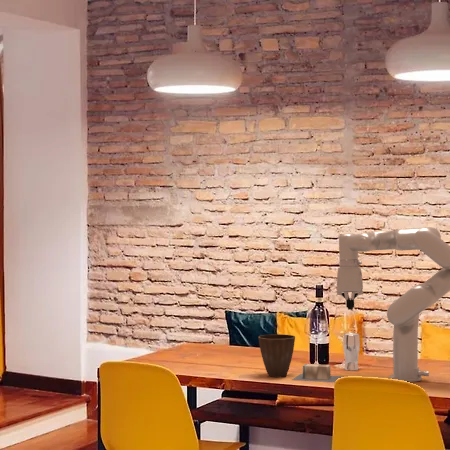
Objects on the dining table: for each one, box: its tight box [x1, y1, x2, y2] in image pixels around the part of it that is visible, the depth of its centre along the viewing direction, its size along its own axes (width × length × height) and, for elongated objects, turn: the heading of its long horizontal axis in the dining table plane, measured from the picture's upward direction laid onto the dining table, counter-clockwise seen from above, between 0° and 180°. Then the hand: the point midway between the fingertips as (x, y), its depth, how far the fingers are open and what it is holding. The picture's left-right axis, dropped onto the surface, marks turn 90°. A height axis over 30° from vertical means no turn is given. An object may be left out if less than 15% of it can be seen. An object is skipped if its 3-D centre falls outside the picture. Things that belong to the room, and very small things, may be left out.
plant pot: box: [258, 333, 296, 378], centre depth 400 cm, size 15×15×16 cm
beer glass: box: [342, 332, 361, 372], centre depth 413 cm, size 7×7×15 cm
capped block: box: [302, 363, 332, 380], centre depth 391 cm, size 5×5×10 cm
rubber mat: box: [291, 373, 344, 383], centre depth 390 cm, size 22×14×1 cm, turn 71°
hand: (350, 309), depth 399 cm, fingers closed
